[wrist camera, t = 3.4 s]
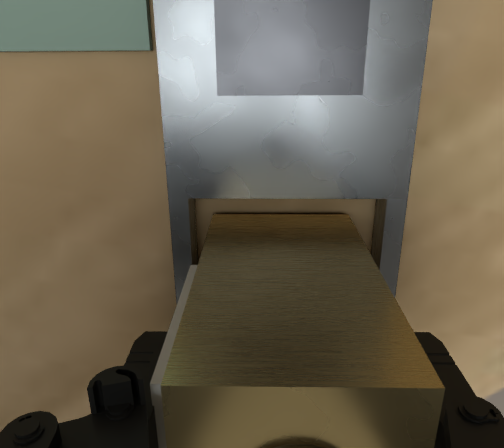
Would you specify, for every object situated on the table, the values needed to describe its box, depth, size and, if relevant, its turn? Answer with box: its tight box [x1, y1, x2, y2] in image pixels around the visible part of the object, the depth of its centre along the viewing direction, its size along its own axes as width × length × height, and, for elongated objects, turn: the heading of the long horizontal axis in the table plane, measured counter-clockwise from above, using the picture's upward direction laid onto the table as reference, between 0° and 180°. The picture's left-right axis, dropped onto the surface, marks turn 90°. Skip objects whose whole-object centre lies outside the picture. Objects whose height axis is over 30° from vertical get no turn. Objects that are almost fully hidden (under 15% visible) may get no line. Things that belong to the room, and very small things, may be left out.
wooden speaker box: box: [161, 214, 445, 448], centre depth 14 cm, size 6×6×10 cm
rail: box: [153, 0, 433, 303], centre depth 16 cm, size 9×26×2 cm, turn 0°
